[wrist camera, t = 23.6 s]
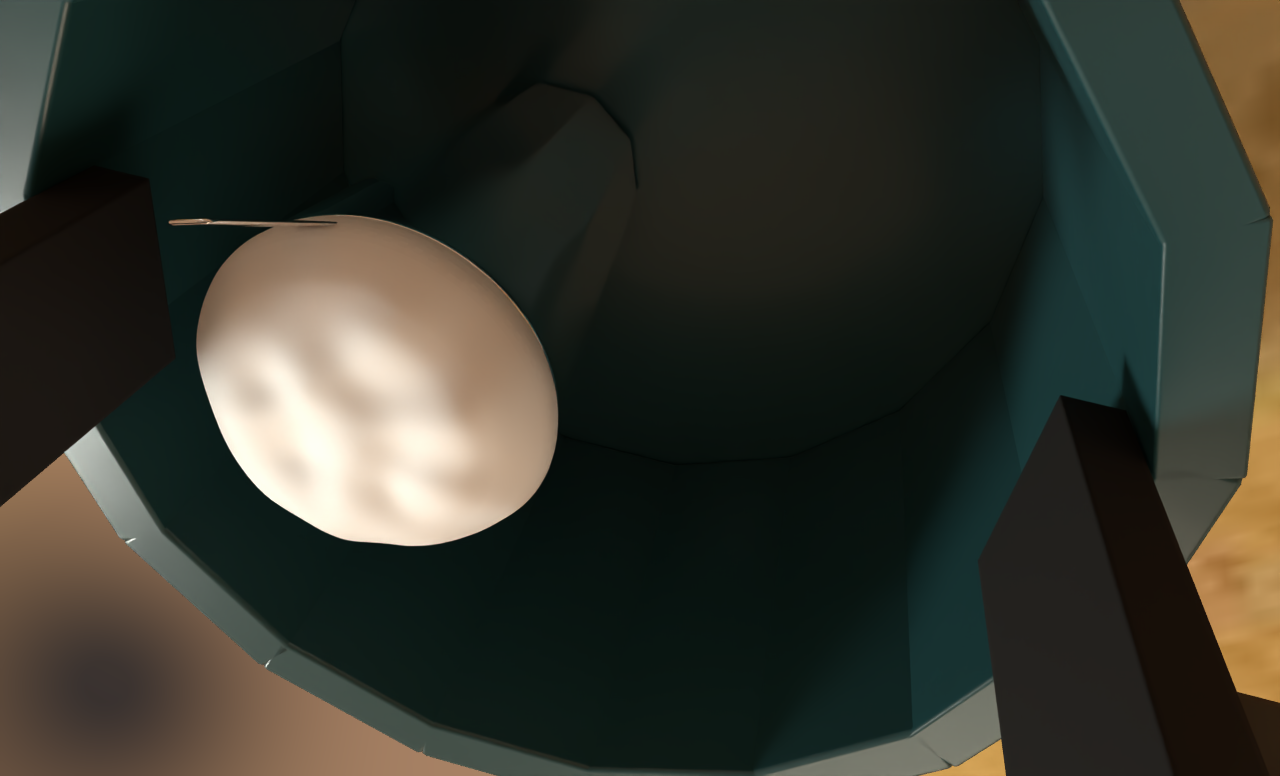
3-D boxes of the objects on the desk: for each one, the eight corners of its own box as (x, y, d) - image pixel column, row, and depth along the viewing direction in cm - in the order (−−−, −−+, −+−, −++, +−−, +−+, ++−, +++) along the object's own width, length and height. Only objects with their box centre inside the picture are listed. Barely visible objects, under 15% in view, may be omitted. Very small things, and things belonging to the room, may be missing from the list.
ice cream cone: (654, -15, 16) (425, 211, 8) (683, 273, 19) (537, 662, 11) (407, 7, 17) (-22, 227, 9) (469, 277, 20) (186, 633, 12)
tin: (292, -381, 15) (-229, -515, 8) (1268, -203, 14) (1688, -172, 7) (324, 392, 23) (87, 662, 16) (931, 546, 22) (958, 909, 15)
